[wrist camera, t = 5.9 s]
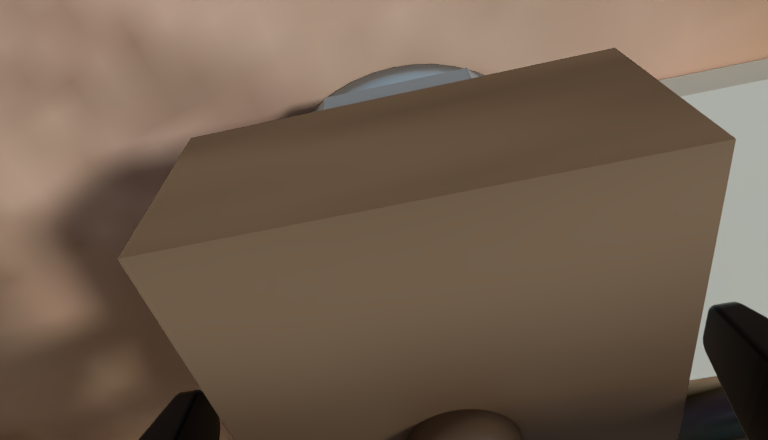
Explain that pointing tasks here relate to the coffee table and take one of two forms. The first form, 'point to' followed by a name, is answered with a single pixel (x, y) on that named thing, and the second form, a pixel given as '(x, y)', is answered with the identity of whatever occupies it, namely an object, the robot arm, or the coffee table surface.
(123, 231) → the coffee table surface
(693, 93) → the mat
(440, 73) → the bowl
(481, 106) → the lid
